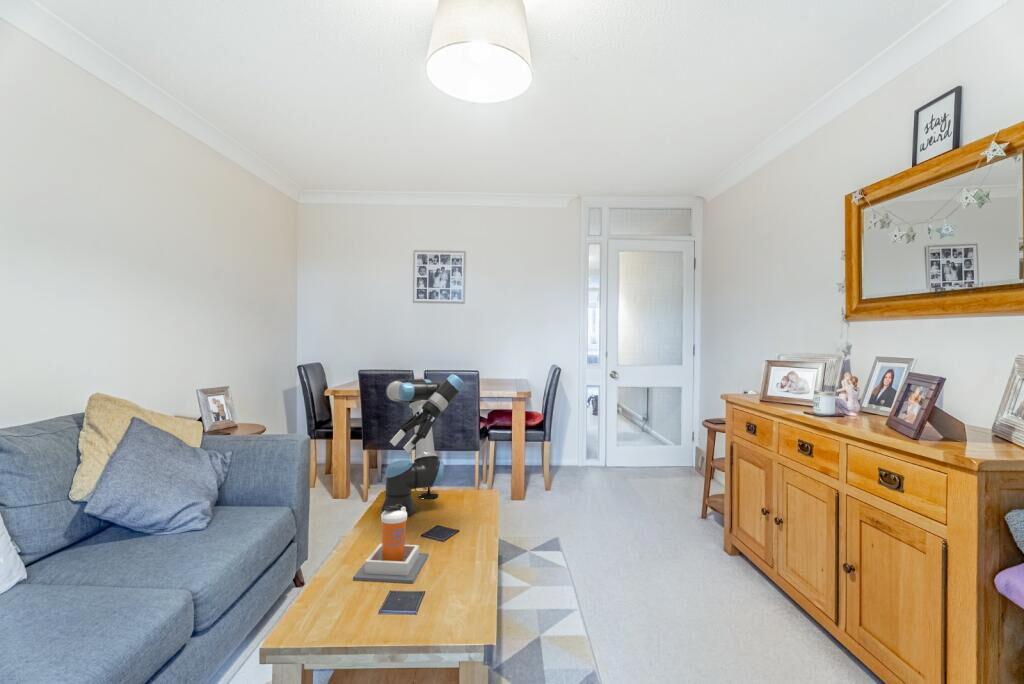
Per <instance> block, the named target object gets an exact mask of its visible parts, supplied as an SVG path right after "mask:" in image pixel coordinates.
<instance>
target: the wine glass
mask: <svg viewBox="0 0 1024 684" xmlns="http://www.w3.org/2000/svg"><path fill="white" fill-rule="evenodd" d="M430 489H431V487H427V492H426V493H425V492H424V493H421V494H420V495H421V496H419V495H418V496H419V497H420V498H424V499H433V500H436V499H438V498H439V497H438V495H439V494H438V493H435V494H431V493H432V492H431V490H430ZM419 497H418V498H419ZM437 497H438V498H437ZM435 498H436V499H435Z"/></svg>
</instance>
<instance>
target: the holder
mask: <svg viewBox="0 0 1024 684" xmlns="http://www.w3.org/2000/svg"><path fill="white" fill-rule="evenodd" d="M428 558H429V553H425V552H420V545H419V544H417V545H416V544H405V548H404V562H400V561H383V560H382V542H381V543H379V545H377V547H375V549H374V550H373V551H372V553H371V554H370V555H369V556H368V558H366V559H365V561H364V563H363V565H362V566H360V569H358V571H357V572H356V573H355V574H354V576H353V577H352V580H353V579H354V580H353V581H358V580H365V581H364V582H376V581H382V583H394V582H399V584H412V583H413V584H414V583H415V580H416V579H417V578H418V576H419V574H420V571H421V570H422V569H423V567H424V565H425V563H426V562H427V559H428ZM421 568H422V569H421ZM417 575H418V576H417ZM383 581H384V582H383Z"/></svg>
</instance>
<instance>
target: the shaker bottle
mask: <svg viewBox="0 0 1024 684" xmlns="http://www.w3.org/2000/svg"><path fill="white" fill-rule="evenodd" d="M384 510H385V511H384V512H383V513H382V514H381V513H380V522H381V543H382V560H383V561H400V562H404V548H405V545H406V532H407V520H408V517H407V512H406V508H405V507H404V506H403V505H401V504H397V505H396V506H387V507H384Z"/></svg>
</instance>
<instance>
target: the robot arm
mask: <svg viewBox="0 0 1024 684" xmlns="http://www.w3.org/2000/svg"><path fill="white" fill-rule="evenodd" d="M464 386H465V383H464V381H463V380H462V378H460V377H459V376H458V375H456V374H452V373H451V374H450V375H449V376H448V377H446V379H445V380H444V381H442V382H441V381H440V382H439V381H437V382H436V381H435V382H434V381H433V382H432V381H431V379H426V378H425V379H424V378H419V379H417V378H416V379H415V378H410V379H405V378H404V379H403V378H402V379H395V380H394V381H391V382H390V383H388V384H387V386H386V388H385V394H386V397H387V398H388V400H391V401H393V402H395V403H396V402H397V403H408V407H409V408H410V409H412V416H411V417H409V419H407V420H406V421H404V422H403V423H402V424H400V425H399V428H400V429H399V430H398V432H397V433H396V434H395V435H394V436H393V438H391V440H390V441H389V443H390V444H392V446H394V447H396V446H397V444H398V443H399V442H400V441H401V440H402V439H403V438H404V437H405V435H407V432H409V431H411V430H412V429H414V430H413V431H414V435H412V436H411V438H410V439H409V441H407V443H406V444H405V445H404V446H403V449H404V450H405V451H406V453H408V454H409V453H410V452H411V451H412V449H413V448H414V447H415V450H416V456H415V458H414V459H413V462H412V460H410V459H406V460H405V459H401V460H396V461H393V462H391V463H389V464H388V465H387V466H386V469H385V471H386V472H385V475H384V476H385V496H384V500H383V503H382V506H381V510H380V515H381V514H382V513H383V512H384V511H385V510H384V507H387V506H396V505H397V504H401V505H403V506H404V507H405V508H406V512H407V518H409V517H411V516H413V515H414V514H415V512H416V511H415V510H416V509H415V508H416V507H415V504H414V503H415V502H414V500H413V497H412V490H416V489H425V488H428V487H430V488H432V487H438V486H440V485H441V484H442V482H443V479H444V475H445V472H444V471H445V466H444V462H443V460H440V459H439V455H437V454H436V452H435V444H434V436H433V435H434V434H433V427H432V426H433V424H434V423H436V419H437V418H438V417H439V416H440V415H441V413H442V412H443V411H445V409H447V406H448V405H449V404H450V403H451V402H452V401H453V399H454V398H456V396H457V395H458V394H459V393H460V392H461V391H462V389H463V388H464Z"/></svg>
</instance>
